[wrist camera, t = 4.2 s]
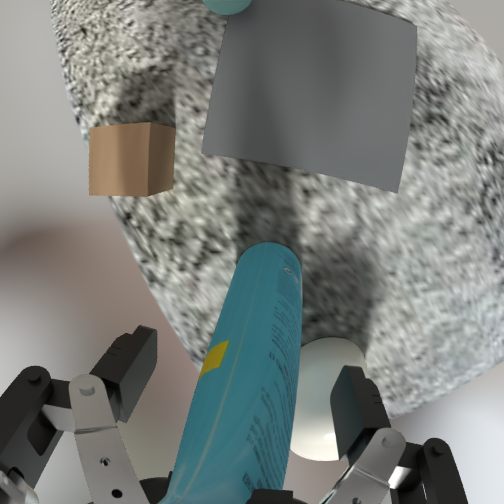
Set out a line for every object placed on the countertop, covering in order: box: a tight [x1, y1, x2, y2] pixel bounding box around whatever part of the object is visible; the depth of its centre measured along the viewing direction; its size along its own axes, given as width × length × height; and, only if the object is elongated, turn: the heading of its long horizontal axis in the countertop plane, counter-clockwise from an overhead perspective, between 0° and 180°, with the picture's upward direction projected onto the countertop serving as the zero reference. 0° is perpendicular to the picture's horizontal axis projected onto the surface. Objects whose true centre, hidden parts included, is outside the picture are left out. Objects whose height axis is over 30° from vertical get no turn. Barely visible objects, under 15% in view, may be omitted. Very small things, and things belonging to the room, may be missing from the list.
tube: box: [158, 242, 302, 504], centre depth 13 cm, size 7×5×19 cm, turn 18°
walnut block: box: [89, 122, 176, 197], centre depth 18 cm, size 4×4×4 cm
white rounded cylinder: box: [290, 337, 372, 461], centre depth 21 cm, size 7×7×8 cm
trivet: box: [201, 0, 417, 193], centre depth 17 cm, size 14×14×1 cm
